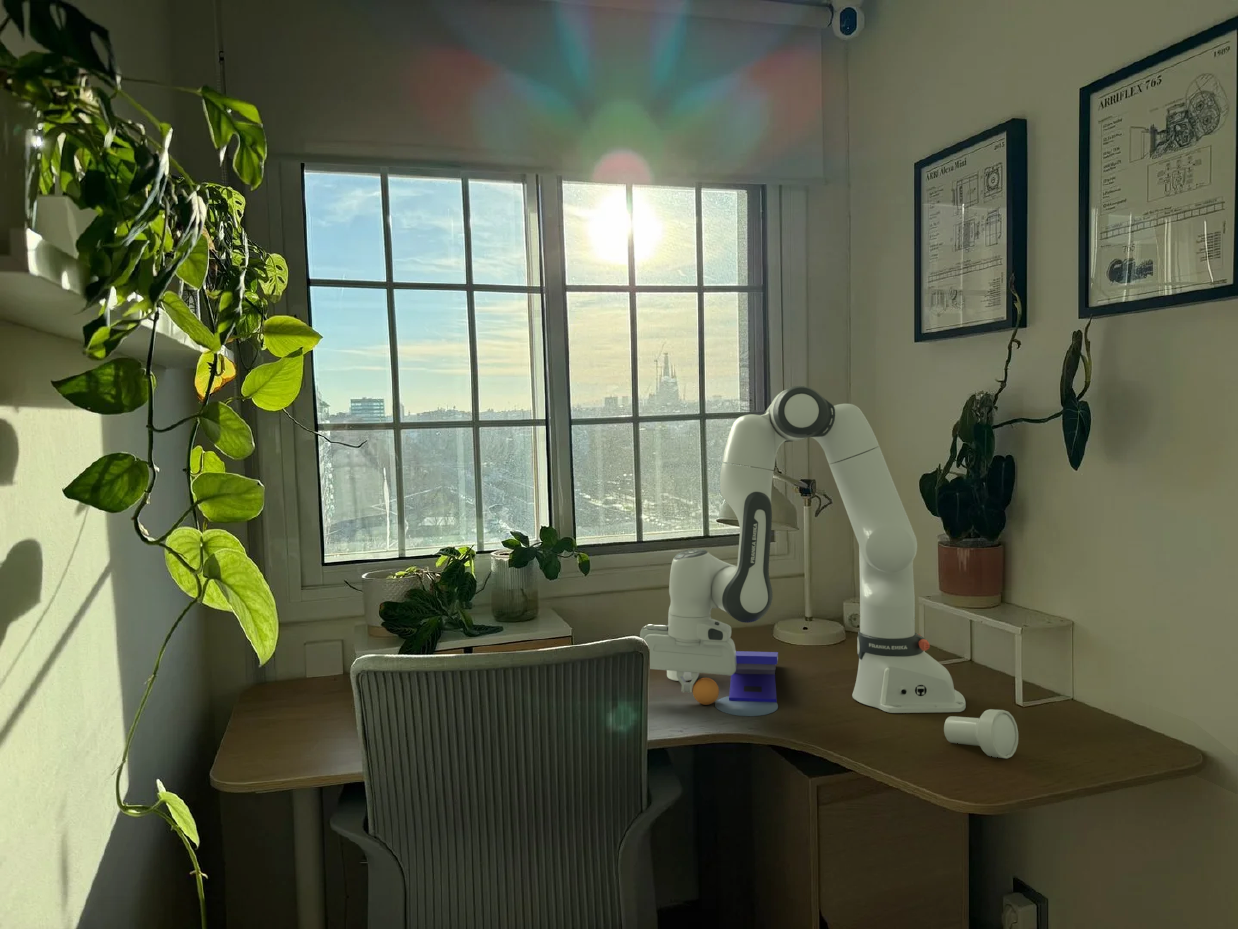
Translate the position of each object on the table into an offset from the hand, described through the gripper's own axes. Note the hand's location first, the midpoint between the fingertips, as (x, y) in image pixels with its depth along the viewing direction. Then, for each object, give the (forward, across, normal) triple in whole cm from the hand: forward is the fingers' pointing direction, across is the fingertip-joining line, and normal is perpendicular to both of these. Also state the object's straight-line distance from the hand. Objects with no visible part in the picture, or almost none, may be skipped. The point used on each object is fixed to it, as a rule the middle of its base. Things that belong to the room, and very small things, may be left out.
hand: (687, 692), depth 183 cm
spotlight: (+1, +55, -17) cm, 58 cm away
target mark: (+2, +12, 0) cm, 13 cm away
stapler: (+2, +13, +17) cm, 21 cm away
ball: (0, +4, 0) cm, 4 cm away
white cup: (+2, -4, +18) cm, 19 cm away
